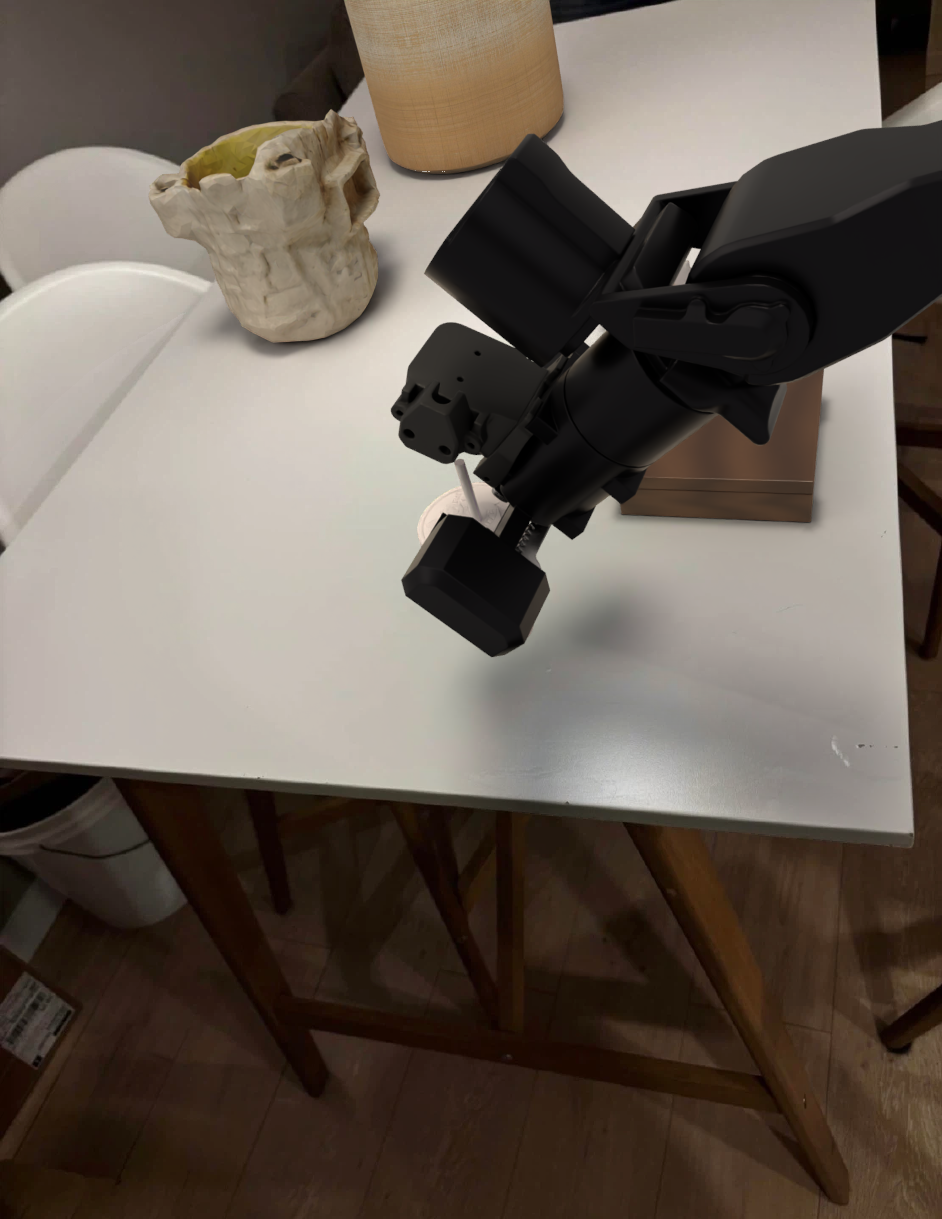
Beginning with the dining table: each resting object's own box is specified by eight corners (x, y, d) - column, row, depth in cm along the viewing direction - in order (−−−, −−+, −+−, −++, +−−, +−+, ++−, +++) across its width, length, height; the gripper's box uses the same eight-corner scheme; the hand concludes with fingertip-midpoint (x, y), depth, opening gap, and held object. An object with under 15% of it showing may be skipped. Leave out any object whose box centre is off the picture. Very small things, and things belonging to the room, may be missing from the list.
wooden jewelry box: (821, 401, 73) (824, 360, 70) (810, 522, 65) (814, 481, 62) (650, 402, 78) (647, 364, 75) (621, 514, 70) (616, 476, 67)
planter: (508, 185, 112) (469, -18, 96) (354, 177, 124) (296, -4, 108) (598, 94, 124) (576, -100, 108) (449, 96, 136) (410, -79, 120)
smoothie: (516, 681, 54) (460, 515, 44) (437, 643, 58) (369, 481, 47) (574, 609, 57) (534, 436, 46) (495, 576, 60) (442, 410, 50)
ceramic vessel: (215, 191, 110) (260, -10, 90) (385, 299, 114) (464, 130, 94) (113, 290, 97) (139, 81, 77) (309, 409, 101) (382, 239, 81)
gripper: (552, 184, 43) (418, 365, 56) (374, 433, 33) (261, 583, 46) (721, 332, 45) (555, 473, 58) (601, 606, 35) (434, 702, 48)
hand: (459, 546), depth 53 cm, fingers closed on smoothie, 6 cm apart
